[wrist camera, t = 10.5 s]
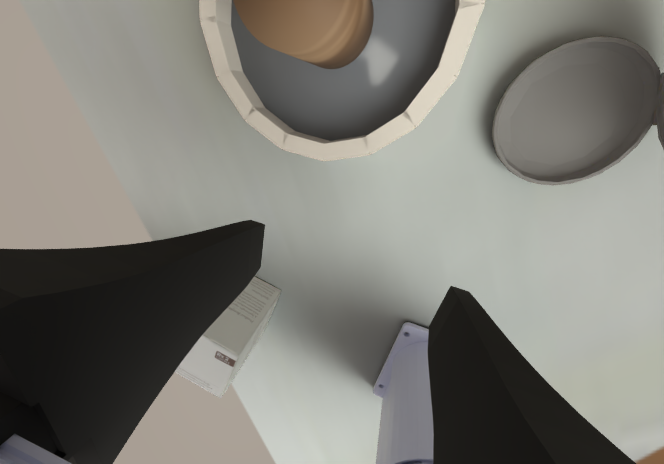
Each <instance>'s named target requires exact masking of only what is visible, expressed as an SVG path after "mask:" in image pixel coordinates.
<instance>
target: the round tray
mask: <svg viewBox="0 0 664 464" xmlns="http://www.w3.org/2000/svg"><path fill="white" fill-rule="evenodd" d="M372 2H373V9H374V19H373V27H372V32H371V35H370V38H369V40H368V43H367V45H366V46H365V48H364V50H363V51H362V53H361V54H360V55H359V56H358V57H357V58H356V59H355V60H354V61H353V62H351V63H350V64H348V65H346V66H344V67H342V68H338V69H324V68H321V67H318V66H316V65H313V64H311V63H308V62H305V61H303V60H300V59H298V58H295V57H293V56H290V55H287V54H285V53H282V52H280V51H277V50H275V49H272V48H270V47H268V46H266V45H264V44H263V43H261V42H260V41H258V40H257V39H256V38H255V37H254V36H253V35H252V34H251V33H250V31H249V30H248V29H247V28H246V26H245V25H244V23H243V22H242V20H241V18H240V16H239V14H238V12H237V9H236V7H235V4H234V1H233V0H199V19H201V21H200V23H201V27H202V30H203V33H204V37H205V40H206V44H207V47H208V50H209V54H210V57H211V61H212V64H213V67H214V71H215V74H216V77H217V79H218V81H219V82H220V84H221V85H222V87H223V88H224V90H225V91H226V93H227V94H228V96H229V97H230V99H231V101H232V102H233V104H234V105H235V107H236V108H237V110H238V111H239V113H240V114H241V116H242V117H243V119H244V120H246V121H245V122H247V123H248V124H249V125H251V126H252V127H253V128H254V129H256V130H257V131H258V132H260V133H261V134H262V135H263V136H265V137H266V138H267V139H269V140H270V141H271V142H272V143H274V144H275V145H276V146H278V147H279V148H280V149H282V150H285V151H289V152H292V153H296V154H299V155H303V156H306V157H310V158H313V159H317V160H320V161H331V160H338V159H346V158H353V157H360V156H367V155H370V154H373V153H375V152H376V151H378V150H380V149H381V148H383V147H385V146H386V145H388V144H390V143H391V142H393V141H395V140H397V139H398V138H400V137H402V136H403V135H405V134H407V133H408V132H410V131H412V130H413V129H415V128H416V127H417V126H418V125H419V124H420V123H421V121H422V120H423V119H424V118H425V117H426V115H427V114H428V113H429V112H430V110H431V109H432V108H433V107H434V105H435V104H436V103H437V102H438V101H439V99H440V98H441V97H442V96H443V94H444V93H445V92H446V91H447V89H448V88H449V87H450V86H451V85H452V83H453V82H454V81H455V80H456V78H457V76H458V75H459V72H460V69H461V67H462V64H463V61H464V59H465V56H466V53H467V51H468V48H469V45H470V43H471V40H472V37H473V35H474V32H475V29H476V27H477V24H478V21H479V19H480V16H481V13H482V11H483V8H484V5H485V4H484V3H485V0H372Z"/></svg>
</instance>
